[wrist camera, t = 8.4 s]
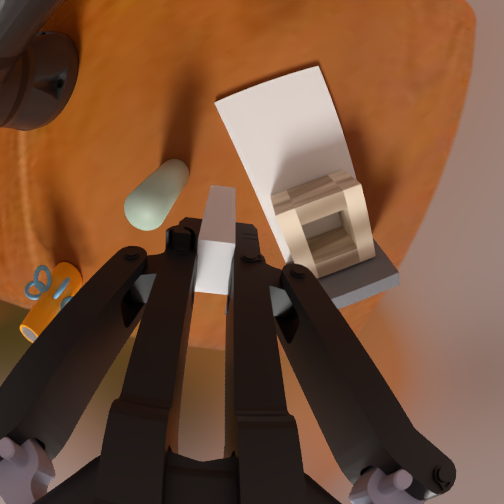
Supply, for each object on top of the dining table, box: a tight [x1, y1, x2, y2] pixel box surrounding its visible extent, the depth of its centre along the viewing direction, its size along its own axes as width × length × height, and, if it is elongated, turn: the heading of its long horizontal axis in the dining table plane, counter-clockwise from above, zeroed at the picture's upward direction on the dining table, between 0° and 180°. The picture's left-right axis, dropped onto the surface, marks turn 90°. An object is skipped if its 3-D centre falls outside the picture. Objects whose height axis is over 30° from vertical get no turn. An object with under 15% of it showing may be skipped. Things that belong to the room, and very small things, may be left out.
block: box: [270, 170, 376, 279], centre depth 33 cm, size 10×10×6 cm
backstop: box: [214, 66, 400, 309], centre depth 29 cm, size 26×13×11 cm, turn 23°
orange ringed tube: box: [20, 262, 82, 343], centre depth 34 cm, size 12×10×15 cm
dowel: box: [124, 159, 189, 230], centre depth 28 cm, size 4×4×12 cm
